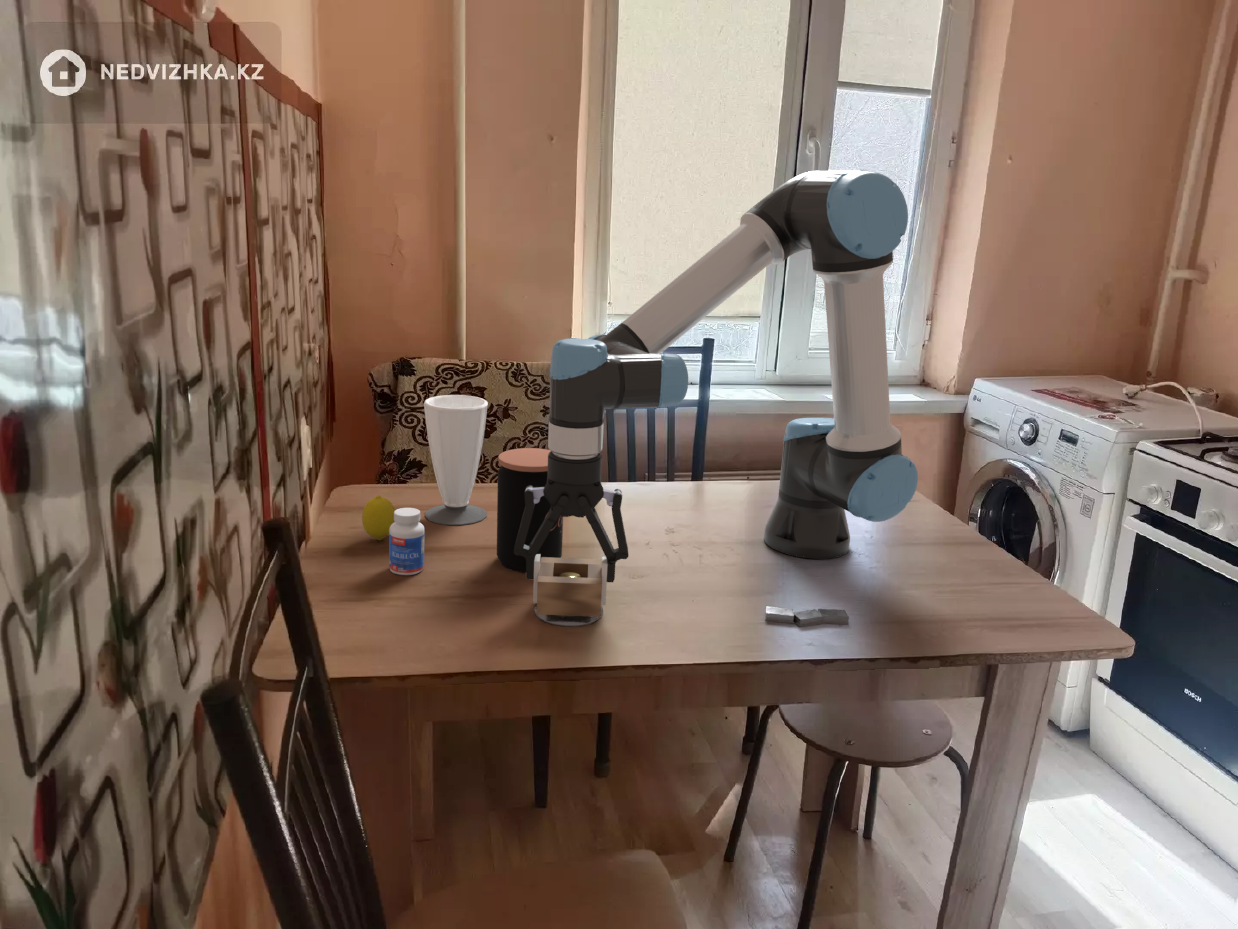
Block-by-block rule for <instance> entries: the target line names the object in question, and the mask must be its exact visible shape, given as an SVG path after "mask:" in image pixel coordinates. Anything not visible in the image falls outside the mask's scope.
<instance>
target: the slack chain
mask: <svg viewBox="0 0 1238 929" xmlns="http://www.w3.org/2000/svg"><path fill="white" fill-rule="evenodd" d="M764 616H765V621H767V622H777V623H786V624H795V625H797V626H798V627H799V628H802V627H810V626H815V625H822V624H828V625H829V624H830V625H849V621H850V620H849V619H850V616H849V614H848V613H847V611H846V610H845V609H839V608H838V609H833V608H832V609H830V608H818V609H815V608H814V609H806V610H800V611H794V608H788V607H787V608H786V607H778V606H770V605H769V606H768V605H766V606H765V614H764Z"/></svg>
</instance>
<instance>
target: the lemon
mask: <svg viewBox="0 0 1238 929" xmlns="http://www.w3.org/2000/svg"><path fill="white" fill-rule="evenodd" d="M394 511H395V507H394V505H393V503H392V502H391V501H390V500H389V499H388V498H386V497H382V496H381V495H376V496H375V497H373V498H371V499H369V500H368V501H367V502H366V503H365V505H364V507H363V510H362V516H361V521H362V526H363V529H364V530H365V532H366V533H367V534H368V535H369V536H371V537H372V538H375V539H376V540H378V541H382V539H384V538H385V537H388V536H389V529H390V526H391V525H392V524H393V523H395V521H394Z"/></svg>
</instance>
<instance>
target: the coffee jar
mask: <svg viewBox="0 0 1238 929" xmlns="http://www.w3.org/2000/svg"><path fill="white" fill-rule="evenodd" d="M550 451H551V450H550V449H545V448H538V447H537V448H536V447H525V448H524V447H521V448H514V449H509V450H506V451H502V452H501V453H500V454H499V455H498V457H497V459H498V463H499V465H500V467H499V469H498V471H497V495H496V497H497V501H496V502H497V506H496V507H497V508H496V510H497V511H496V512H497V513H496V515H497V516H496V518H497V519H496V556H497V559H498V560H499V561H498V562H500V563H501V566H502V567H505V569H508V570H510V571H513V572H518V573H522V574H523V573H524V574H526V559H525V557H523V556H521V555H519V556H518V555H515V554H514V547H515V543H516V539H517V536H518V532H519V528H520V525H521V521H522V517H523V513H524V510H525V506H526V505H525V496H524V495H525V490H526V487H527V486H529V485H530V486H533V487H534V488H537V487H544V486H545V484H546V482H547V472H548V454H549V453H550ZM550 508H551V504H550V503H549V501H548V500H547V499H546V497H545V496H542V497H541V498H540V501H539V502H538V503H536V504H535V505H534V510H533V514H532V518H531V522H530V525H529V529H528V533H527V536H526V540H525V544H524V545H527V546H529V545H530V544H531V542H532V540H533V538H534V537H535V535H536V533H537V532H538V530H539V528H540V526H541V525H542V523H543V521H544V519H545V518H546V516H547V514H548V512H549V510H550ZM563 532H564V517H562V515H560V516H559V517H558V519H557V521H556V522H555V523H554V525H553V527H552V529H551V530H550V532H549V534H548V535H547V537H546V539H545V541H544V542H543V544H542V546H541V547H540V549H539V551H538V553H537V554H541V556H540V562H541V557H552V558H562V555H563Z"/></svg>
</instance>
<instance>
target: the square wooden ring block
mask: <svg viewBox="0 0 1238 929" xmlns="http://www.w3.org/2000/svg"><path fill="white" fill-rule="evenodd" d="M566 572H573V573H577V574H579V575H580V576H581V578H579V577H560V575H561V574H562V573H566ZM601 596H602V558H601V559H600V558H577V557H576V558H574V557H572V558H571V557H561V558H552V557H541V562H540V570H539V575H538V584H537V603H536V604H537V614H538V615H566V616H594V617H600V616H601V606H602V605H601Z"/></svg>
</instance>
